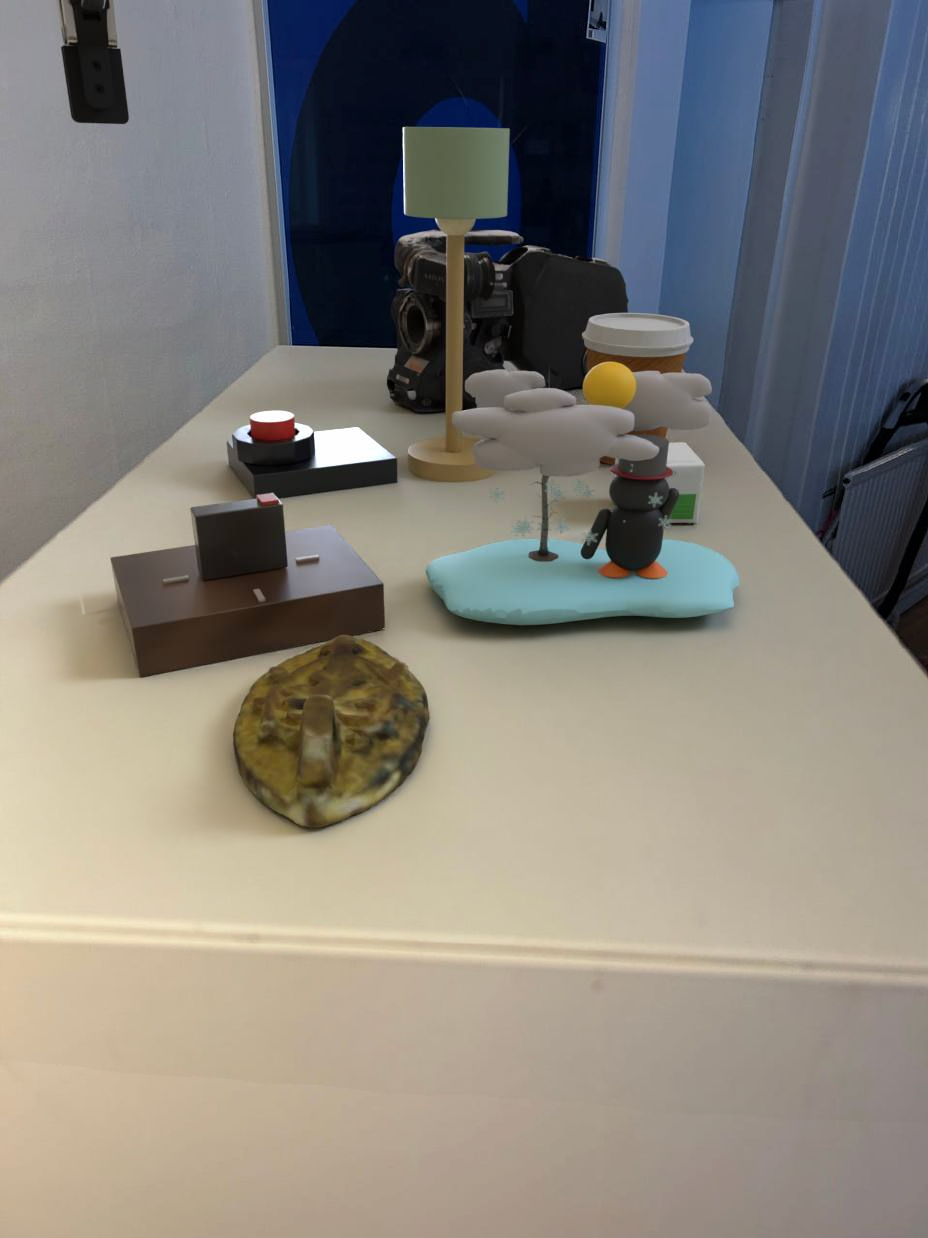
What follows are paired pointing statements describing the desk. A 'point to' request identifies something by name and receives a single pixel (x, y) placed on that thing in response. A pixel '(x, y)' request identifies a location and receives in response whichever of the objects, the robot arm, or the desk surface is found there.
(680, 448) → the small box
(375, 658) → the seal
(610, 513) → the penguin figurine
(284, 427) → the lamp switch
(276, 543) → the dark grey block
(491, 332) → the movie camera
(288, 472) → the switch block
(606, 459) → the disposable coffee cup
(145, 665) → the dimmer panel
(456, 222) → the desk lamp
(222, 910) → the desk surface
